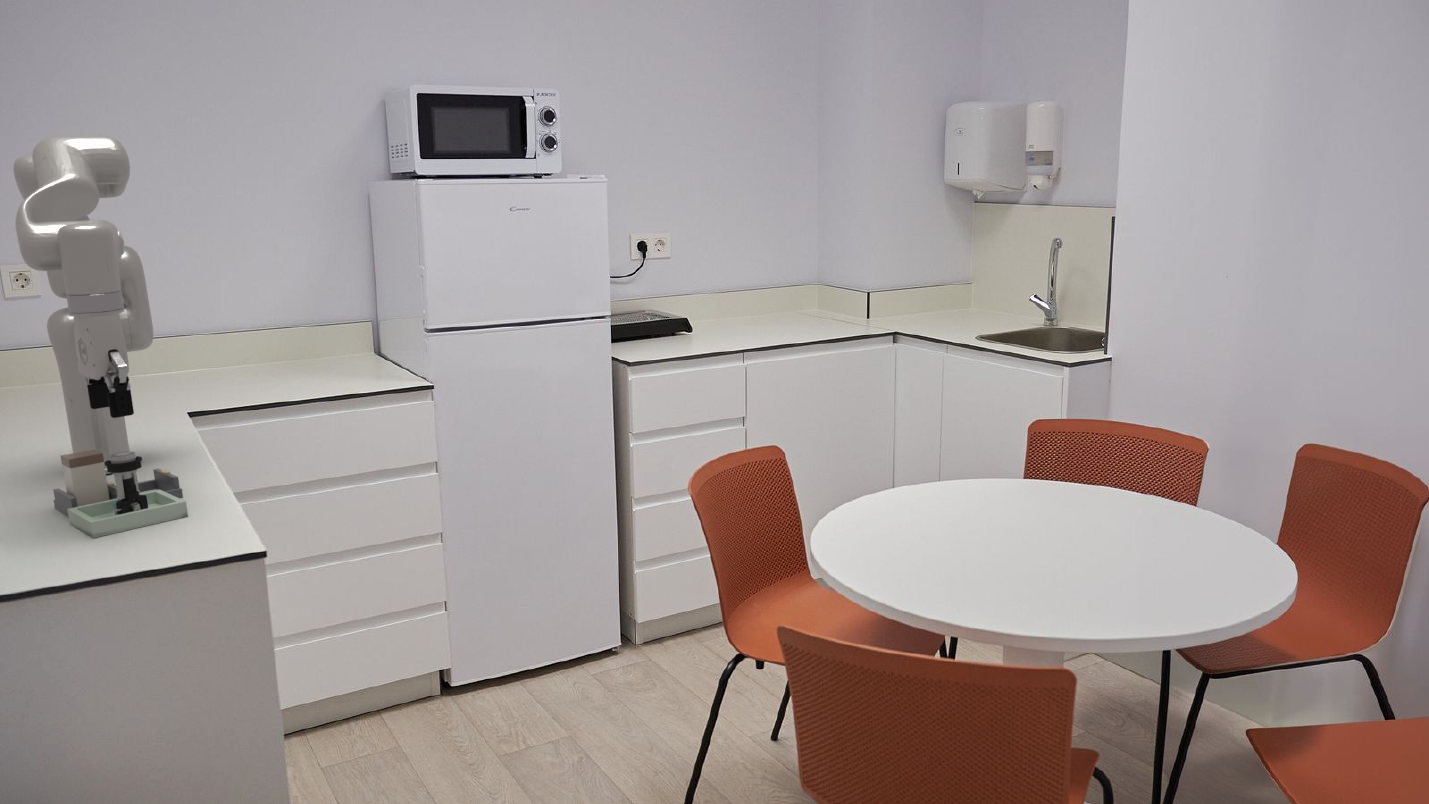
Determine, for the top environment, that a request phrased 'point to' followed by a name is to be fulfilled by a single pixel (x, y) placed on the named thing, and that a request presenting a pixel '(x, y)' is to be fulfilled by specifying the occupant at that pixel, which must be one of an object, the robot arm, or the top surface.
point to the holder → (161, 482)
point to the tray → (126, 514)
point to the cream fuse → (85, 477)
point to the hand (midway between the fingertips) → (112, 411)
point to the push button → (126, 482)
